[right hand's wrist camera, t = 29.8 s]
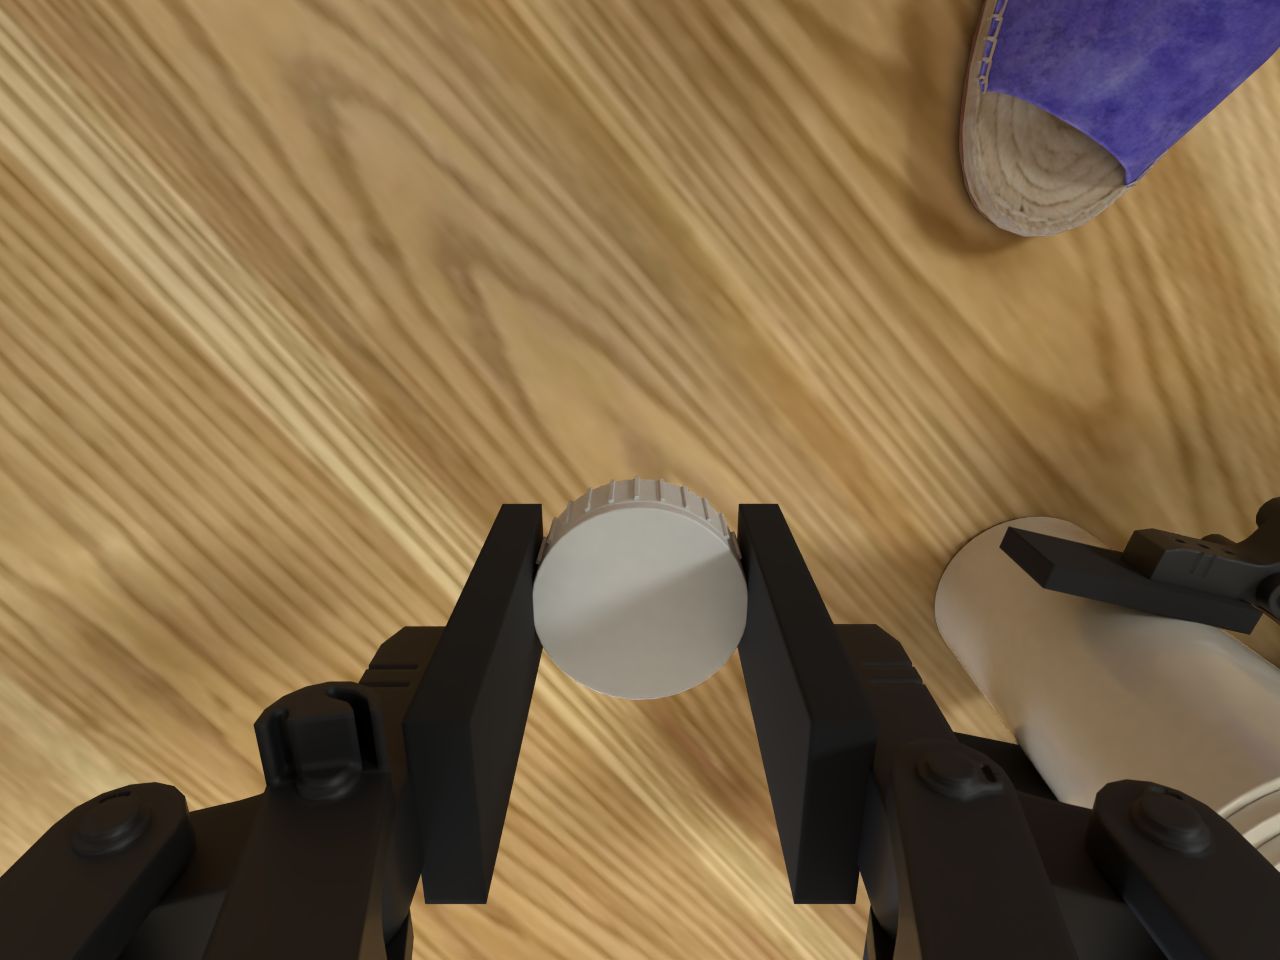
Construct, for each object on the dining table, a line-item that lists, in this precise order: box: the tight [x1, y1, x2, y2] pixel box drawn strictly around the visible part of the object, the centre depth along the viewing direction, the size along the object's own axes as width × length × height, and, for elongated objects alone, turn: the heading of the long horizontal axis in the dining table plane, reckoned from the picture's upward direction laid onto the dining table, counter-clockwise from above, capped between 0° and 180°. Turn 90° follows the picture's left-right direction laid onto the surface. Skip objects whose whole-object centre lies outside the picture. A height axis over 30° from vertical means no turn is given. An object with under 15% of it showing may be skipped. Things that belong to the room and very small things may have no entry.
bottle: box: [935, 517, 1280, 872], centre depth 21 cm, size 7×7×18 cm
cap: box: [533, 476, 748, 700], centre depth 14 cm, size 4×4×2 cm
